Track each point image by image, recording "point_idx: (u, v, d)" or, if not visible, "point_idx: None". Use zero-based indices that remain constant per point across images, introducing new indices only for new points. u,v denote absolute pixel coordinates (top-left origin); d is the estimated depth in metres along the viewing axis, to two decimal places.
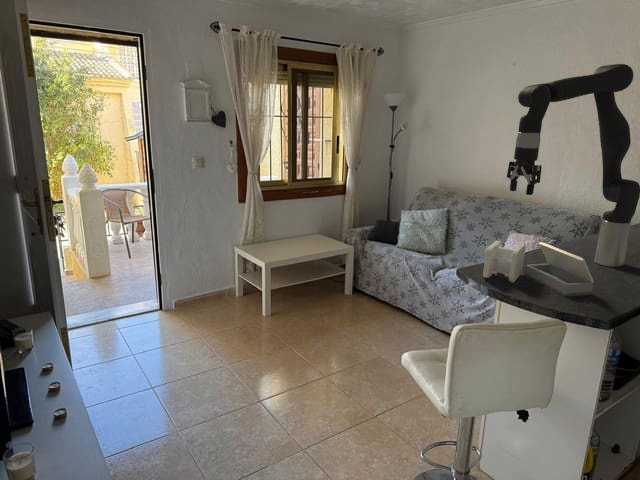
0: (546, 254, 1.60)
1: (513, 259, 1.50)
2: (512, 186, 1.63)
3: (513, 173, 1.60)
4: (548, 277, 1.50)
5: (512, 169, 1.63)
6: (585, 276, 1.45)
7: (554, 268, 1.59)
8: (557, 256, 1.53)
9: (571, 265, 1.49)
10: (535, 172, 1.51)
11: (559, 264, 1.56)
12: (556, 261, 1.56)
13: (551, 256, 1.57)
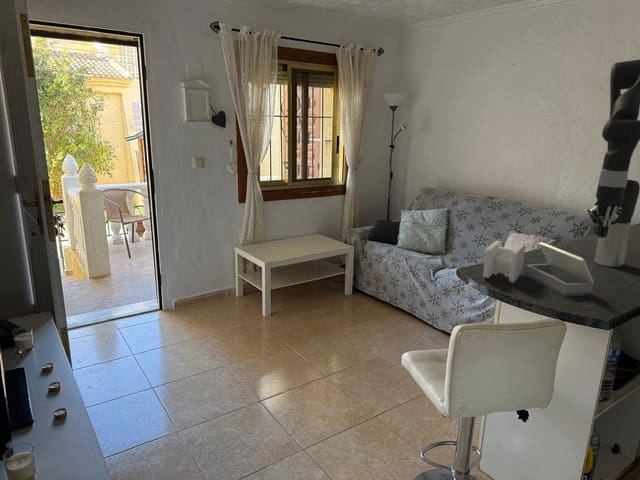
0: (546, 254, 1.60)
1: (513, 259, 1.50)
2: None
3: (607, 217, 1.44)
4: (548, 277, 1.50)
5: None
6: (585, 276, 1.45)
7: (554, 268, 1.59)
8: (557, 256, 1.53)
9: (571, 265, 1.49)
10: None
11: (559, 264, 1.56)
12: (556, 261, 1.56)
13: (551, 256, 1.57)
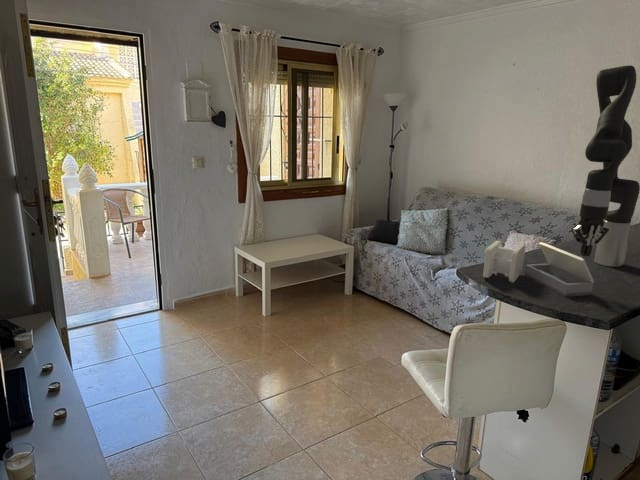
0: (546, 254, 1.60)
1: (513, 259, 1.50)
2: None
3: (590, 236, 1.44)
4: (548, 277, 1.50)
5: None
6: (585, 276, 1.45)
7: (554, 268, 1.59)
8: (557, 256, 1.53)
9: (571, 265, 1.49)
10: None
11: (559, 264, 1.56)
12: (556, 261, 1.56)
13: (551, 256, 1.57)
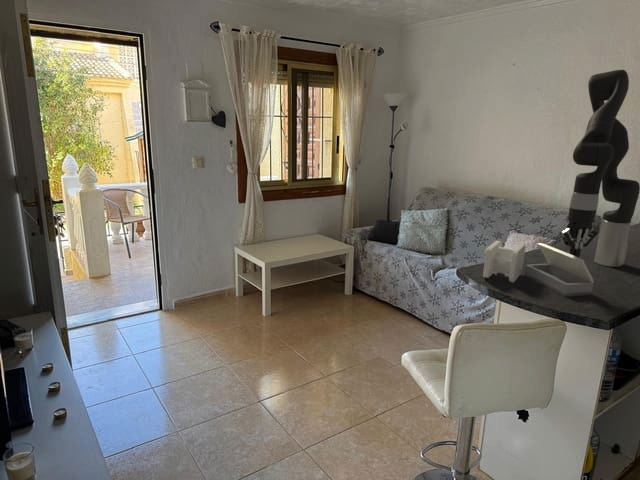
0: (546, 255, 1.60)
1: (513, 259, 1.50)
2: None
3: (578, 239, 1.44)
4: (548, 277, 1.50)
5: None
6: (585, 276, 1.45)
7: (554, 268, 1.59)
8: (556, 257, 1.53)
9: (570, 266, 1.49)
10: None
11: (559, 264, 1.56)
12: (556, 261, 1.56)
13: (551, 256, 1.57)
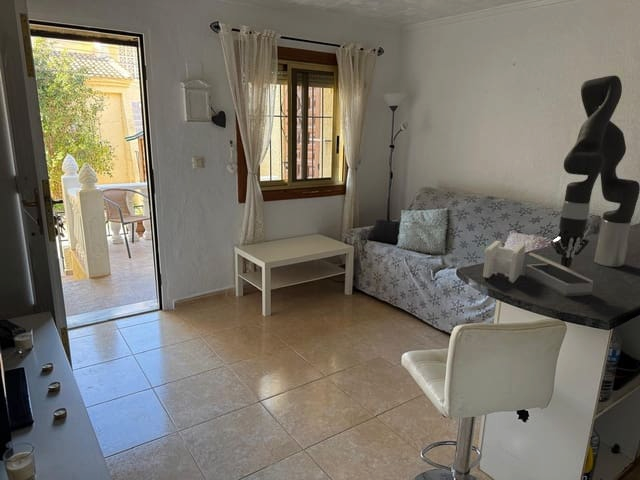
0: None
1: (513, 259, 1.50)
2: None
3: (570, 248, 1.44)
4: (548, 277, 1.50)
5: None
6: None
7: (554, 268, 1.59)
8: None
9: None
10: None
11: (557, 267, 1.56)
12: None
13: None
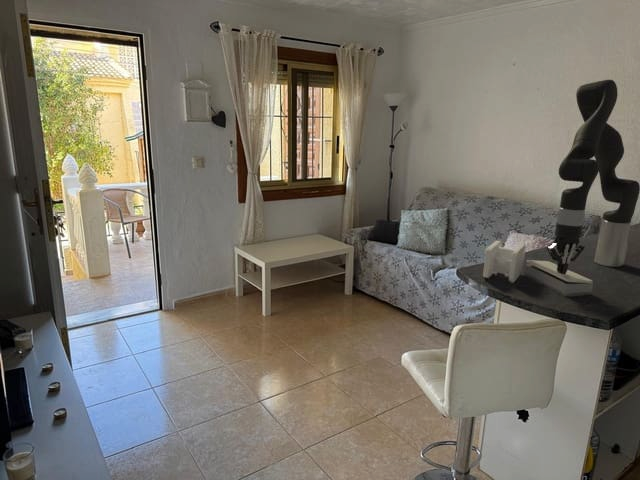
0: None
1: (513, 259, 1.50)
2: None
3: (565, 254, 1.44)
4: (548, 277, 1.50)
5: None
6: None
7: None
8: None
9: None
10: None
11: None
12: None
13: None
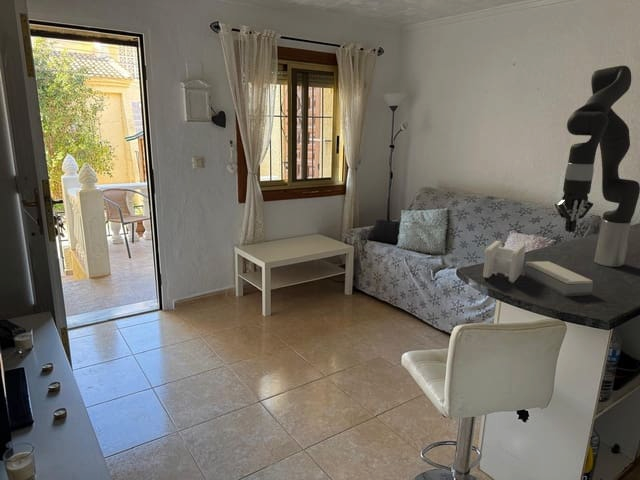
0: None
1: (513, 259, 1.50)
2: None
3: (574, 211, 1.42)
4: (548, 277, 1.50)
5: None
6: None
7: None
8: None
9: None
10: None
11: None
12: None
13: None
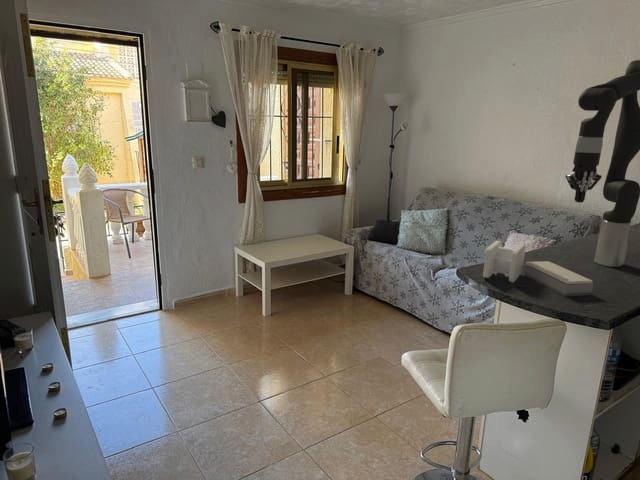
0: None
1: (513, 259, 1.50)
2: None
3: (583, 182, 1.51)
4: (548, 277, 1.50)
5: None
6: None
7: None
8: None
9: None
10: None
11: None
12: None
13: None
